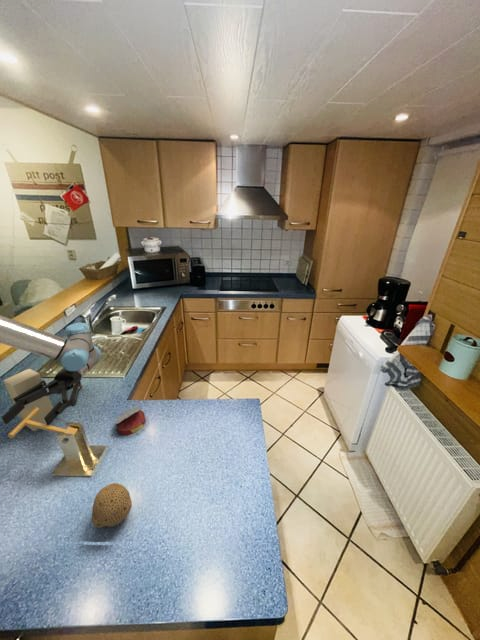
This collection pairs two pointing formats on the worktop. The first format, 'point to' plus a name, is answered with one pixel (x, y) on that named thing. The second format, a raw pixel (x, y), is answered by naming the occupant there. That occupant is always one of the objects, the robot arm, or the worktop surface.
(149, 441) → the worktop surface
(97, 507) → the natural sponge
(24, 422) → the lever
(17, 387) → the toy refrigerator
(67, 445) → the bracket
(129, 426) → the canned food
